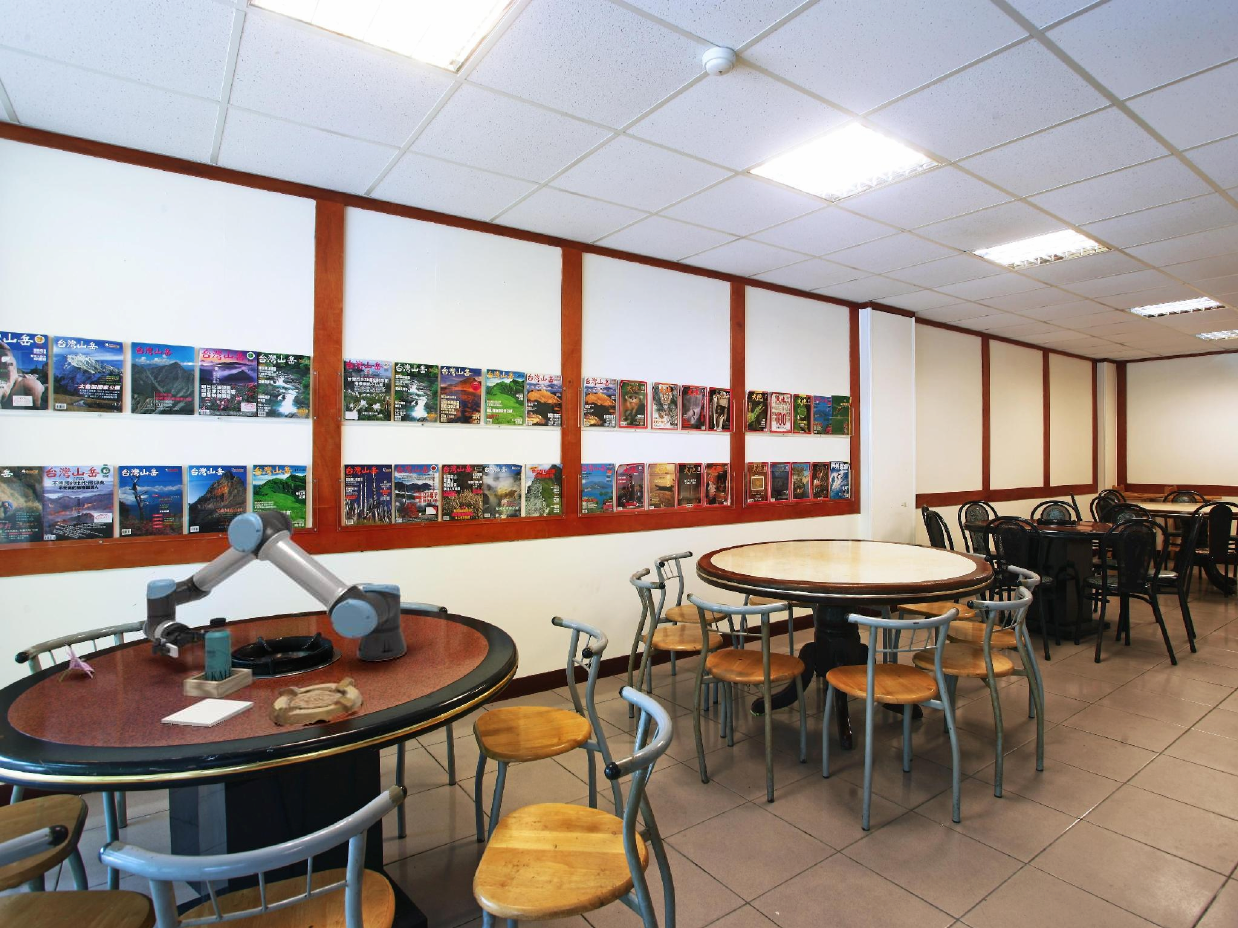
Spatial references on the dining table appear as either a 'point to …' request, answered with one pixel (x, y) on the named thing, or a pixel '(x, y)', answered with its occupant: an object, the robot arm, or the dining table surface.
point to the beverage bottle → (218, 652)
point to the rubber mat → (208, 712)
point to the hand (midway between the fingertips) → (203, 646)
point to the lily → (77, 663)
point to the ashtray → (315, 703)
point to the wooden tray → (217, 684)
